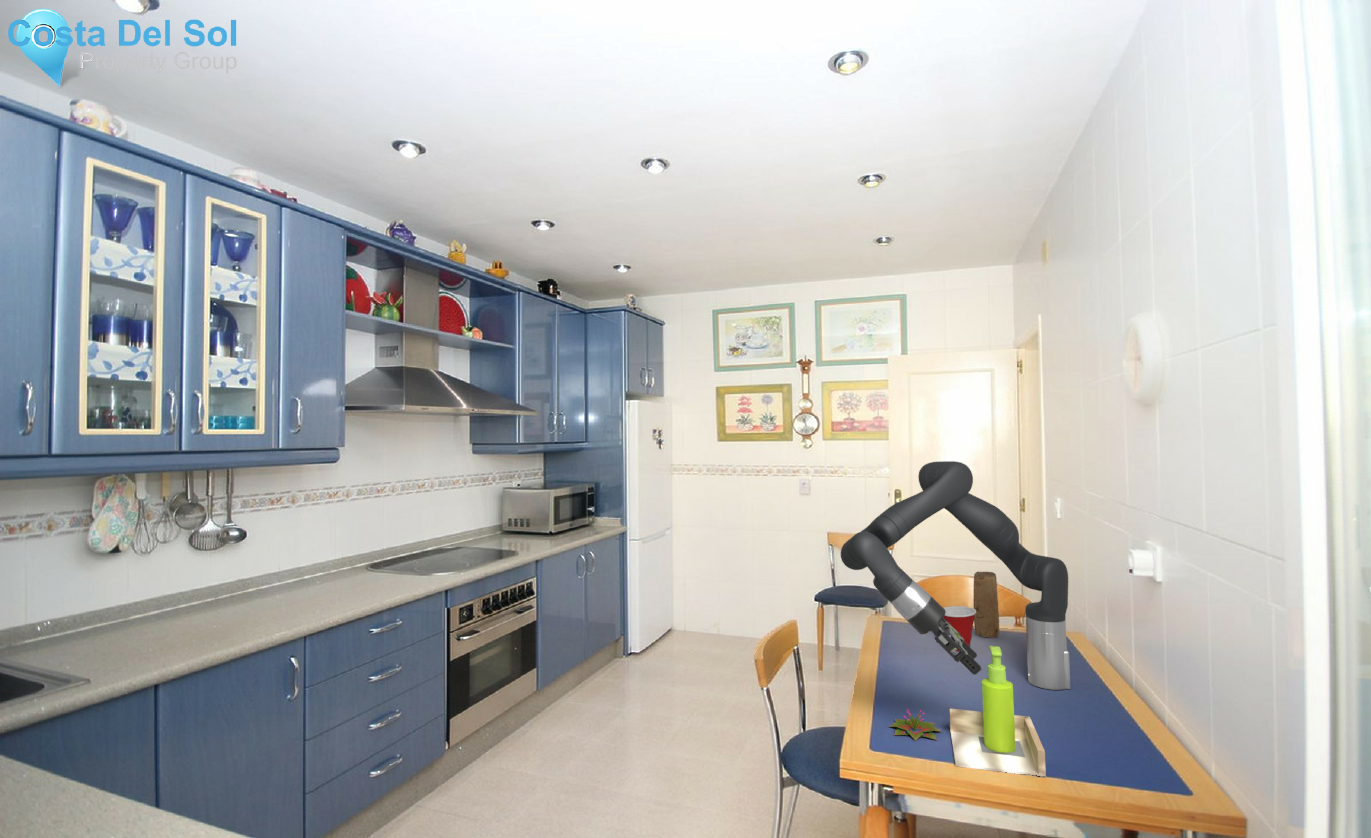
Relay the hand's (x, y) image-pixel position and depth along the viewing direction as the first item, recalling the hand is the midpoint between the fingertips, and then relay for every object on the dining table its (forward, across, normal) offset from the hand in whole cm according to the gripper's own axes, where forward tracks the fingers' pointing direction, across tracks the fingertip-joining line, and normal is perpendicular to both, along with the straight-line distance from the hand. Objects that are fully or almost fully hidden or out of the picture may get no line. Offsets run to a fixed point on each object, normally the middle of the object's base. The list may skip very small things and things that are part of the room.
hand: (976, 664), depth 137 cm
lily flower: (+4, +5, +22) cm, 22 cm away
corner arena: (+14, -2, +10) cm, 18 cm away
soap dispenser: (+15, +1, +9) cm, 17 cm away
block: (+20, +84, +4) cm, 87 cm away
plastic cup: (+13, +66, +11) cm, 68 cm away
